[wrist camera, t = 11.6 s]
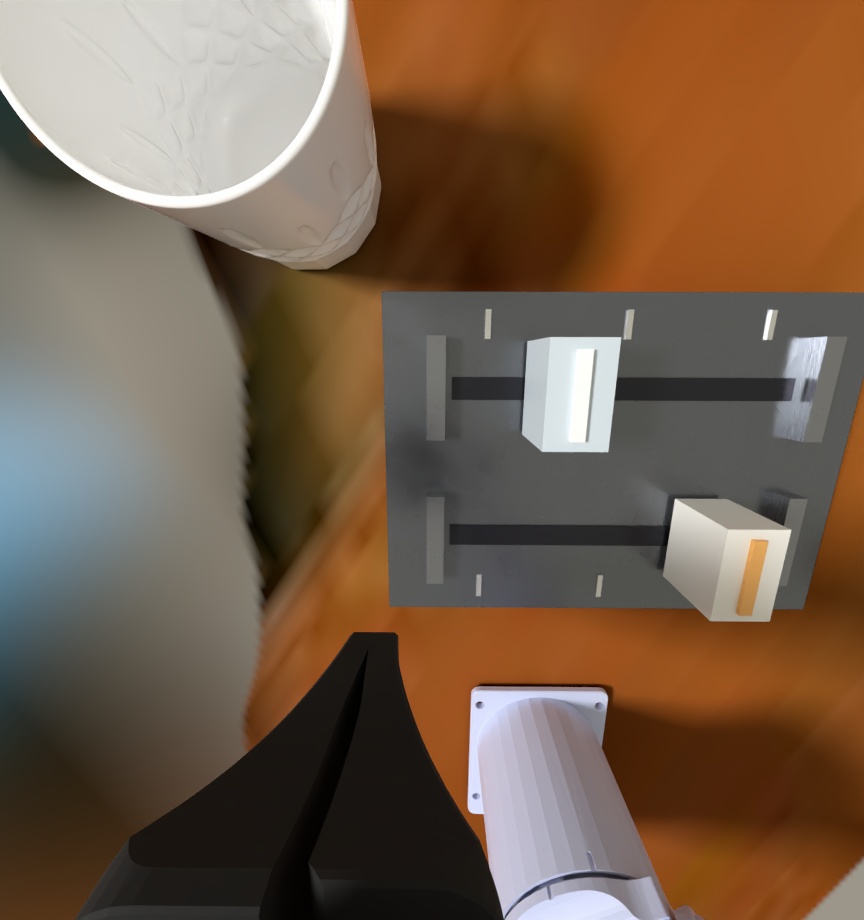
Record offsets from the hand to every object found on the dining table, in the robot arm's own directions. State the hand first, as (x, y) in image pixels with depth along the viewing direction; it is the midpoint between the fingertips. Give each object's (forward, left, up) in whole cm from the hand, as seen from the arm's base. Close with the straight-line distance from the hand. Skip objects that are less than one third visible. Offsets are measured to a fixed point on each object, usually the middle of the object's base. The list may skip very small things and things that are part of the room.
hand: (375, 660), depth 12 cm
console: (+4, -10, -10) cm, 15 cm away
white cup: (+16, +4, -10) cm, 19 cm away
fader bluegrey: (+7, -7, -8) cm, 13 cm away
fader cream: (+1, -14, -8) cm, 16 cm away
